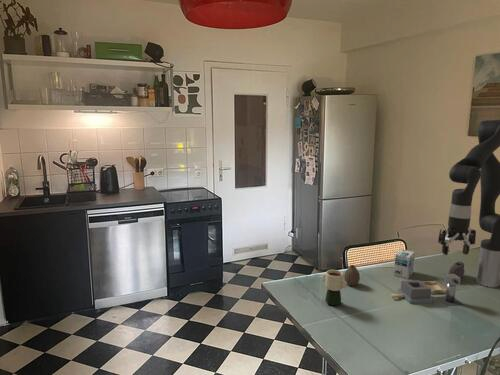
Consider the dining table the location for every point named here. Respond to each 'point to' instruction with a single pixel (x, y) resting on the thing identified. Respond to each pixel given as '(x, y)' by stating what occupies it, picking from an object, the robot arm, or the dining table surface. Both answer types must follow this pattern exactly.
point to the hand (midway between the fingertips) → (455, 254)
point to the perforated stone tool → (457, 269)
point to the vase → (352, 276)
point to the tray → (435, 287)
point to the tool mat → (456, 303)
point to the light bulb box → (404, 263)
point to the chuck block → (414, 292)
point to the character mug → (334, 286)
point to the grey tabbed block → (451, 286)
